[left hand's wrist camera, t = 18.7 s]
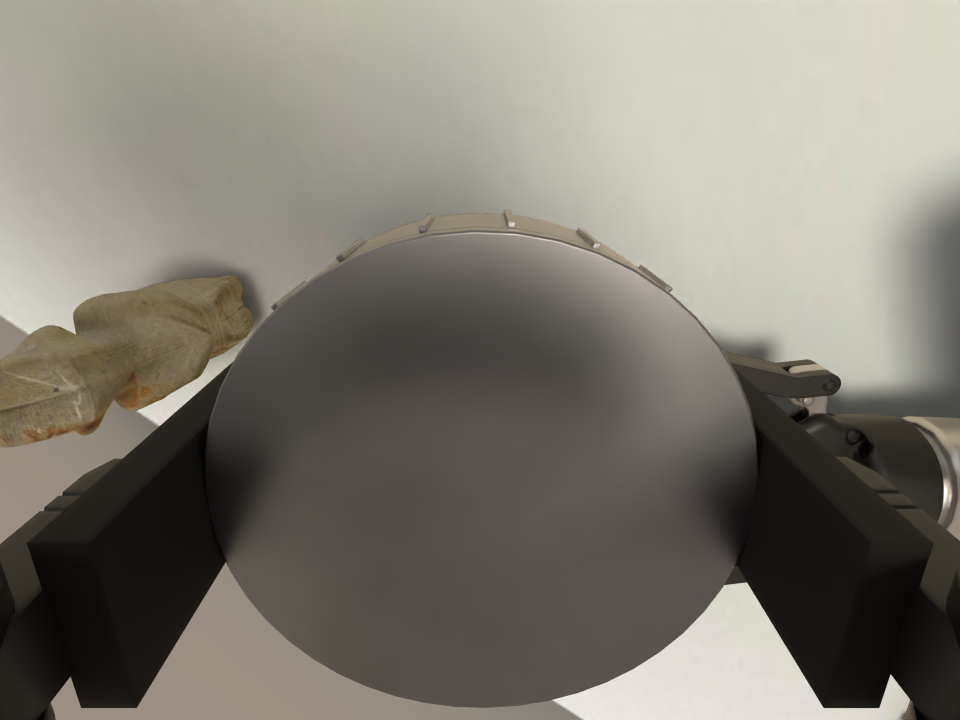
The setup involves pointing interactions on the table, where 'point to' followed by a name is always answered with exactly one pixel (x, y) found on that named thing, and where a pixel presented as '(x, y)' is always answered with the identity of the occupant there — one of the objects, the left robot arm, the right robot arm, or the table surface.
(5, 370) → the sculpture
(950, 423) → the right robot arm
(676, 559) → the lid
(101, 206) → the table surface
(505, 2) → the table surface
